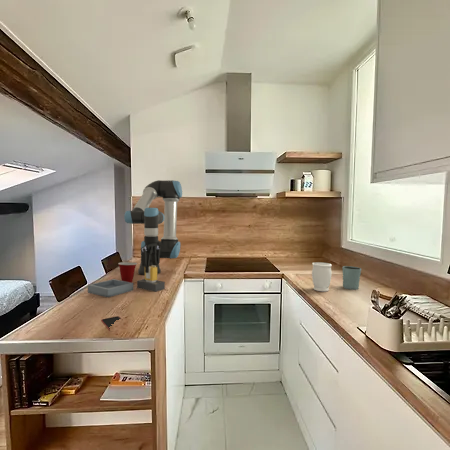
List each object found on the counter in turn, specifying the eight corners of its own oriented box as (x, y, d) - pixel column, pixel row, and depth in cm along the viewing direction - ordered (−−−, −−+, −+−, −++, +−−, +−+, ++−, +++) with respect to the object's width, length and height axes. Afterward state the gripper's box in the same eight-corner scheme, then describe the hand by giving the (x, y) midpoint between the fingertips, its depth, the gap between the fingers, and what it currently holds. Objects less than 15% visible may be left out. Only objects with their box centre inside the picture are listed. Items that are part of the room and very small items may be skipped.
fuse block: (146, 285, 167) (146, 278, 167) (164, 288, 160) (164, 281, 160) (137, 287, 161) (137, 280, 161) (155, 291, 154) (155, 284, 154)
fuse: (149, 286, 164) (149, 266, 163) (157, 288, 160) (157, 267, 160) (144, 288, 160) (144, 266, 160) (152, 290, 157) (152, 268, 157)
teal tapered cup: (338, 286, 173) (338, 266, 173) (351, 285, 177) (351, 265, 176) (350, 290, 164) (351, 269, 163) (364, 289, 167) (365, 268, 167)
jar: (318, 292, 158) (319, 265, 157) (307, 287, 168) (308, 262, 167) (334, 291, 161) (335, 265, 160) (323, 286, 171) (324, 261, 170)
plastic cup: (140, 281, 176) (140, 261, 175) (128, 285, 166) (129, 264, 165) (126, 279, 180) (126, 260, 179) (113, 283, 170) (113, 263, 169)
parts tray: (113, 285, 164) (113, 279, 164) (133, 290, 156) (133, 282, 156) (87, 292, 150) (87, 284, 150) (108, 297, 142) (108, 289, 142)
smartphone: (118, 315, 118) (130, 327, 106) (118, 317, 118) (130, 328, 106) (100, 319, 113) (110, 331, 102) (100, 320, 113) (110, 333, 102)
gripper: (156, 234, 168) (156, 274, 169) (134, 236, 154) (134, 279, 155) (166, 235, 164) (166, 275, 165) (144, 237, 150) (144, 281, 151)
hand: (150, 277), depth 160 cm, fingers closed on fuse, 4 cm apart
